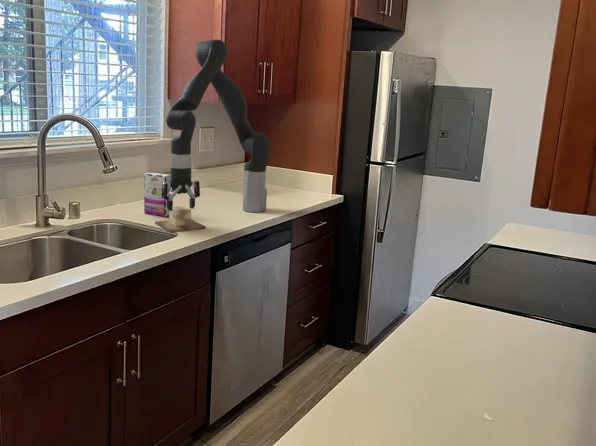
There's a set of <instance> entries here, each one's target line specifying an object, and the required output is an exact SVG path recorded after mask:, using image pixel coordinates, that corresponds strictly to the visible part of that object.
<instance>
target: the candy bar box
mask: <svg viewBox="0 0 596 446" xmlns="http://www.w3.org/2000/svg"><path fill="white" fill-rule="evenodd" d="M170 181H171V178H170V174H167V173H160V172H159V173H158V172H154V171H153V172H152V171H151V172H145V173H144V174H143V182H144V183H143V189H144V191H143V194H144V195H143V196H144V197H143V198H144V199H143V200H144V201H143V202H144V203H143V204H144V208H143V209H144V210H143V211H144V214H146V215H152V216H156V217H157V216H158V217H164V218H169V210H168V209H167V200H165V199H163V198H161V194H162V183H163V182H165V183H170ZM171 189H172V188H171V187H170V186H169V188H168V190H167V196H168V194H169V192H170V190H171ZM171 201H172V207H174V198H173V199H172V200H171Z"/></svg>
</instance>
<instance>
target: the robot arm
mask: <svg viewBox="0 0 596 446" xmlns="http://www.w3.org/2000/svg"><path fill="white" fill-rule="evenodd" d="M194 52H195V53H194V55H195V57H196V60H197V62H198V64H199V66H200V67H201V68H200V69H199V70H198V72H196V74H195V75H194V76H193V77H192V78H190V80H189V81H188V82H187V84H186V86H185V87H184V90H183V92H182V93H181V95H180V97H179V99H178V100H177V101H176V102H175V103H174V104H173V105H172V107H170V109H169V110H168V112H167V114H166V118H165V123H166V125H167V127H168V129H171V130H175V131H181V132H180V134H179V136H174V137H172V138H171V140H170V166H169V167H170V171H169V172H170V174H169V175H170V178H171V181H170V183H165V182H163V183H162V194H161V198H163V199H165V200H167V209H168V210H169V211H172V201H171V200H172V199H173V200H174V197H176V196H177V195H181V194H187V195H188V196H189V208H190V209H191V210H192V209H193V210H194V208H195V206H196V198H199V197H201V189H200V187H201V186H200V181H199V180H193V181H192V164H193V163H192V156H191V155H192V154H191V152H192V150H191V148H192V145H191V144H192V140H193V135H194V133H195V128H196V124H197V119H196V116H195V114H194V113H193V111H196V110H197V109H198V107H199V106H200V104H201V101H202V99H203V97H204V95H205V93H206V92H207V89H208V87H209V86H210V84H211V85H212V87H213V89H214V90H215V93H216V95H217V97H218V98H219V101H220V102H221V104H222V108H223V109H224V111H225V112H226V114H227V116H228V118H229V120H230V122H231V124H232V127H233V128H234V131H235V133H236V135H237V138H238V141H239V143H240V146H241V148H242V150H243V151H244V152H245V153H248V154H251V158H250V160H249V161H247V162H246V163H245V162H244V166H243V188H242V189H243V192H242V193H243V194H242V210H243V212H244V211H245V212H248V213H261V212H264V211H267V200H268V198H267V196H268V189H267V188H266V180H267V179H266V178H267V177H266V176H267V175H266V174H267V167H268V165H269V158H270V157H269V155H270V140H269V137H268V136H267V134H265V133H263V132H257V131H254V130H253V128H252V126H251V124H250V122H249V121H248V103H247V100H246V98H245V96H244V93H243V91H242V90H241V88H240V87H239V85H238V84H236V82H234V81H233V80H232V79H231V78H230V77H228V76H227V75H226V74H225V73H224V72H223V70H222V69H221V68H222V66H223V65H224V64H225V62H226V60H227V57H228V54H229V53H228V47H227V44H226V43H225V42H224V41H223V40H221V39H210V40H204V41H200V42H198V43H197V44H196V45H195V48H194ZM169 186H170V187H171V188H172V189H171V190H170V192H169V194H168V196H167V190H168V188H169ZM192 186H193V191H192V189H191V187H192Z"/></svg>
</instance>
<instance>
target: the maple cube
mask: <svg viewBox="0 0 596 446" xmlns="http://www.w3.org/2000/svg"><path fill="white" fill-rule="evenodd" d="M168 218H169V223H170V224H172V225H174V226H186V225H191V219H192V209H191V208H190V207H187V206H186V205H181V206H173V207H172V211H169V216H168Z"/></svg>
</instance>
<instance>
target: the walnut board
mask: <svg viewBox="0 0 596 446" xmlns="http://www.w3.org/2000/svg"><path fill="white" fill-rule="evenodd" d="M154 224H155V225H157V226H158V227H160V228H162V229H164V230H165V231H167V232H169V233H175V232H185V231H194V230H195V231H196V230H204V229H205V230H206V226H205V225H204V224H201V223H199V222H197V221H195V220H193V219H192V218H191V225H186V226H174V225H172V224H170V223H169V220H168V219H167V220H158V221H154Z"/></svg>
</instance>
